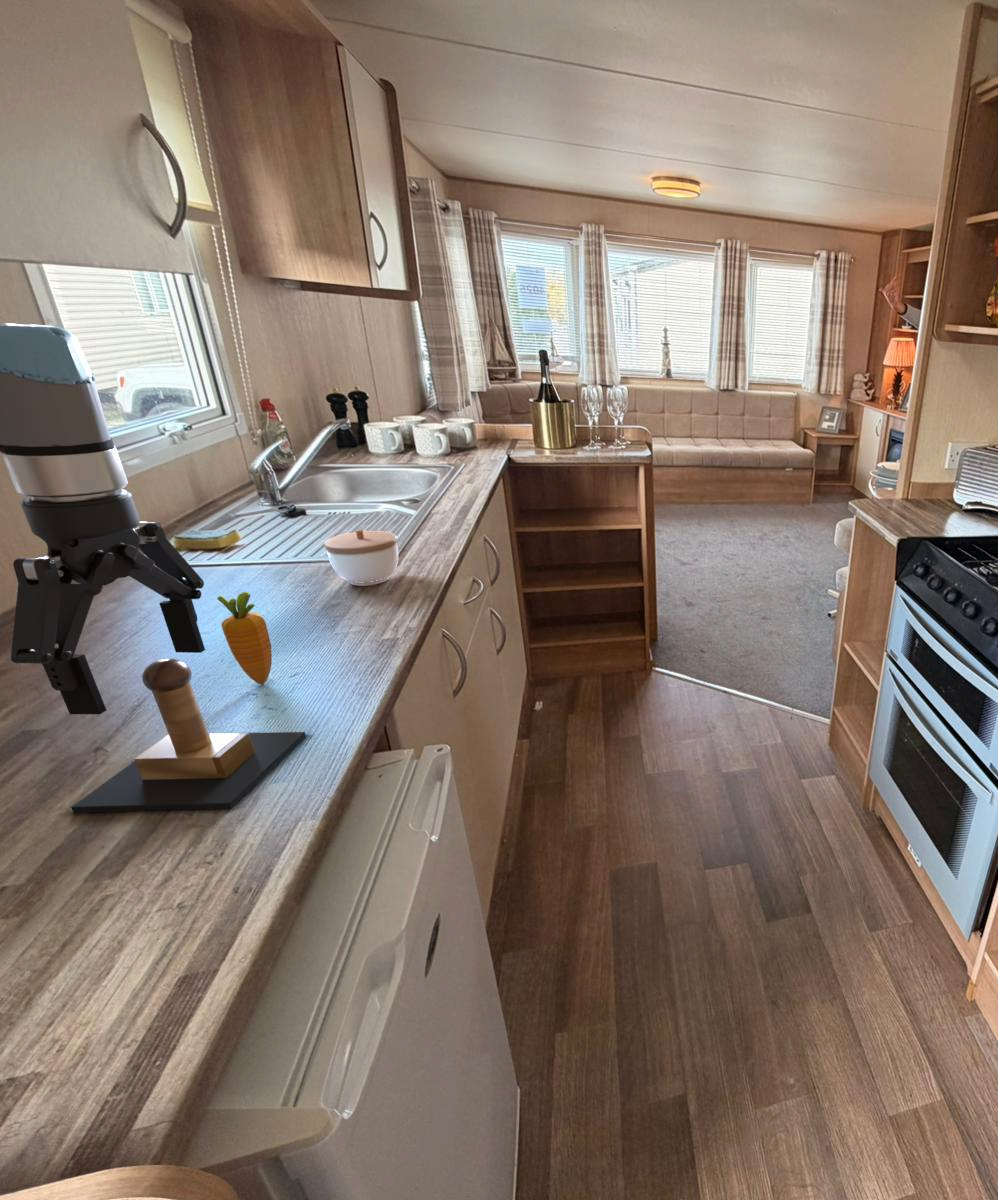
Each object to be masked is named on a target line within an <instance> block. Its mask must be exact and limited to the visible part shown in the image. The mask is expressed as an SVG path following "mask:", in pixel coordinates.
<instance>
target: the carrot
mask: <svg viewBox="0 0 998 1200" xmlns="http://www.w3.org/2000/svg"><path fill="white" fill-rule="evenodd" d="M250 598H251V593H250V592H247V591H243V592H241V593H239V594H238V595H237V597H236V598H231V599H230V600H229V601H228V600H227V599H226V598H225V597H224V596H222V595H218V596H217V598H216V600H218V602H220V603H221V604H222V605H223V606H224V607H225V608H226V609H227V610H228V611H229V612H230V613H231V614H232V615H231V616H229V617H227V618H225V619H224V620H223V621H221V629H222V631H223V635H224V637H225V641H226V642H227V645H228V648H229V649H230V652H231V654H232V655H233V657H234V659H235V660H236V662H237V663H238V665H239V666H240V668H241V669H242V671H243V672H244V673H245V674H246V675H247V676H248V677H249V678H250V679H251V680H252V681H254V682H255V683H256V684H258V685H261V686H263V685H264V684H265V683H266V682H268V679H269V676H270V673H271V669H272V663H273V662H272V655H273V654H272V644H271V638H270V634H269V630H268V626H267V623H266V621H265V619H264V618H263V616H262V615H261V614H260V613H257V612H250V611H252V609H254V607H255V606H256V604H255V603H250V604H248V602H249V601H250Z"/></svg>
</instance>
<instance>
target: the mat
mask: <svg viewBox="0 0 998 1200" xmlns="http://www.w3.org/2000/svg"><path fill="white" fill-rule="evenodd" d="M213 733H214V732H213ZM213 733H212V732H211V733H209V732H208V734H213ZM247 733H248V734H249V737H250V740H251V743H252V746H253V749H254V752H255V753H254V754H253V755H252V756H251V757H249V758H248V759H247V760H246V761H245V762H244V763H243V764H242V765H240V766H239V767H238V768H237V769H236V770H235V771H234V772H233V773H231V774H230V775H229V776H228V777H227V778H204V779H156V780H143V779H142V777H141V774H140V772H139V770H138V767H137V765H136V763H135V760H133V762H131V763H130V764H128V765H127V766H126V767H124V768H123V769H121V770H120V771H118V772H117V773H116V774H114V775H113V776H112V777H110V778H109V779H107V780H106V781H105V782H104V783H102V784H100V785H99V786H98V787H97V788H95V789H94V790H92V791H91V792H89V793H88V794H87V795H86V796H84V797H83V798H81V799H80V800H78V801H77V802H76V803H74V804H73V805H72V806H70V809H71V810H72V813H74V814H75V813H108V812H146V811H148V812H149V811H150V812H151V811H182V810H183V811H184V810H185V811H186V810H188V811H189V810H223V809H224V810H225V809H233V808H234V807H235V806H236V805H237V804H238V803H239V802H240V801H242V799H243V798H244V797H245V796H247V794H248V793H249V792H250V791H252V789H254V787H256V786H257V785H258V783H260V782H261V781H262V780H263V779H264V778H265V777H266V776H267V775H268V774H269V773H270V772H271V771H272V770H273V769H275V767H276V766H278V764H280V763H281V762H282V761H283V759H284V758H286V757H287V756H288V755H289V754H290V753H291V752H292V751H293V750H294V749H295V748H296V747H297V746H298V745H299V744H301V743H302V741H304V739H306V737H307V735H306V732H305V731H293V732H292V731H286V732H285V731H284V732H282V731H279V732H277V731H276V732H275V731H274V732H247Z"/></svg>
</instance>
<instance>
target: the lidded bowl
mask: <svg viewBox="0 0 998 1200" xmlns="http://www.w3.org/2000/svg"><path fill="white" fill-rule="evenodd" d="M323 545H324V549H325V550H326V554H327V557H328V560H329V563H330V566H331V567H332V569H333V571H334V572H335V573H336V574H337V575H338V576H339V577H340V578H342V579H343V580H345V581H347V582H349V581H351V582H349V584H350V585H351V586H357V587H366V586H367V587H369V586H375V585H380V584H382V583H385V582H387V581H388V580H390V577H391V576H392V575H393V573H394V572H395V571H396V569H397V566H398V563H399V546H398V537H397V535H396V534H395V533H394V532H390V531H383V530H363V529H356V530H355V531H351V532H345V533H341V534H338V535H334V536H332V537H330V538H328V539H326V540H325V541H324V543H323ZM388 576H389V577H388ZM386 577H387V578H386ZM384 578H385V579H384ZM380 579H382V580H380ZM376 580H378V581H376ZM370 581H373V582H370ZM355 582H364V583H355Z"/></svg>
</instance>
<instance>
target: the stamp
mask: <svg viewBox="0 0 998 1200" xmlns="http://www.w3.org/2000/svg"><path fill="white" fill-rule="evenodd" d="M141 680H142V683H143V685H144V687H145V688H146V689H148V690H149V691H150V692H152V695H153V697H154V700H155V703H156V706H157V708H158V711H159V713H160V715H161V718H162V721H163V723H164V726H165V728H166V731H167V733H168V734H167V735H165V736H164V737H162V738H161V739H159V741H157V742H155V743H154V744H153V745H151V746H150V747H149V748H147V749H145V751H143V752H142V753H140V754H139V755H137V756H136V757H135V758H133V761H135V763H136V765H137V767H138V770H139V772H140V774H141V777H142V779H143V780H156V779H204V778H227V777H228V776H229V775H230V774H231V773H233V772H234V771H235V770H236V769H237V768H238V767H239V766H240V765H242V764H243V763H244V762H245V761H246V760H247V759H248V758H249V757H251V756H252V755H253V754H254V753H255V752H254V749H253V746H252V743H251V740H250V737H249V734H248V733H249V732H213V734H208V733H209V731H208V728H207V725H206V723H205V720H204V717H203V715H202V711H201V709H200V706H199V703H198V700H197V697H196V695H195V692H194V690H193V689H194V688H193V687H192V684H191V680H192V670H191V667H189V666H188V664H187V663H185V662H184V661H182V660H180V659H176V658H162V659H158V660H156V661H153V662H152V663H150V664H149V665H148V666H146V667H145V669H144V670H143V672H142V675H141Z"/></svg>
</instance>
